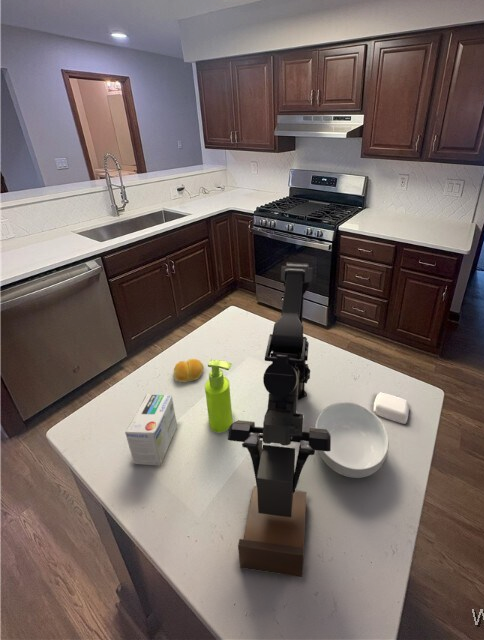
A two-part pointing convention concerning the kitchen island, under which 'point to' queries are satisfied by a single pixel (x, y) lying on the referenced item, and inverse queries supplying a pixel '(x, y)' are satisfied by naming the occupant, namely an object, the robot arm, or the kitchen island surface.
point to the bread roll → (188, 370)
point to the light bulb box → (152, 430)
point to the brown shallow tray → (274, 539)
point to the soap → (391, 407)
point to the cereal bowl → (353, 439)
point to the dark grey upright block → (276, 480)
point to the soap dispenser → (218, 397)
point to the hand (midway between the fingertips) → (275, 489)
